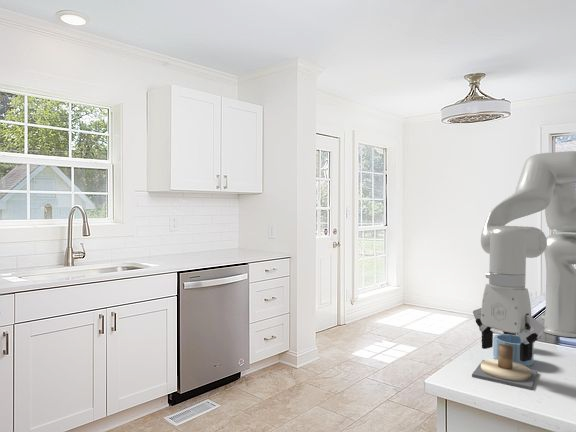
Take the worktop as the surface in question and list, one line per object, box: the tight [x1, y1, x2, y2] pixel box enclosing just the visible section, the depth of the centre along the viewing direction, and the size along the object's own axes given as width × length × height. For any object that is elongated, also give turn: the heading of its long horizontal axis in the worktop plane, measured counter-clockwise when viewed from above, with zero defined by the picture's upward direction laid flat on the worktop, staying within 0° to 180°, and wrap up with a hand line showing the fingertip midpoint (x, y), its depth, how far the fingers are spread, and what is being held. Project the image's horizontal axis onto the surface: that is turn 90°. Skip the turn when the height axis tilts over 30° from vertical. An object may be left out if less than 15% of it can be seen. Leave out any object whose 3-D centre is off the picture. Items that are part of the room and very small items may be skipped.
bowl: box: [492, 333, 535, 368], centre depth 110 cm, size 9×9×6 cm
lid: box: [480, 344, 531, 381], centre depth 100 cm, size 10×10×6 cm
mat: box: [471, 359, 538, 391], centre depth 100 cm, size 12×12×1 cm
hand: (505, 353), depth 100 cm, fingers open, 9 cm apart
